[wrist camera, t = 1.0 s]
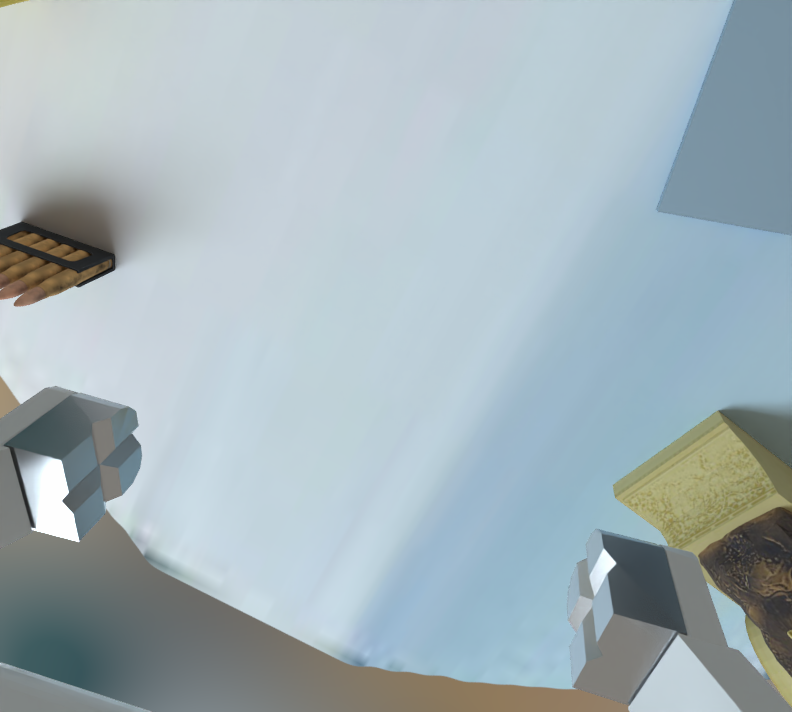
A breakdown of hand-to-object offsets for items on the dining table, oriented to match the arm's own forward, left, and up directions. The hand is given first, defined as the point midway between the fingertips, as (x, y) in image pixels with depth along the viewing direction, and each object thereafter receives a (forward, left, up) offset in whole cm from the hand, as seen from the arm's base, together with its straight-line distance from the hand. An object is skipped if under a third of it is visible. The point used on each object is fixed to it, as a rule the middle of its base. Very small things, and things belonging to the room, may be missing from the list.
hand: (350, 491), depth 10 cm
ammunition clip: (+17, -41, -41) cm, 60 cm away
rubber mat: (-6, +19, -41) cm, 45 cm away
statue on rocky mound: (+32, +35, -41) cm, 62 cm away
